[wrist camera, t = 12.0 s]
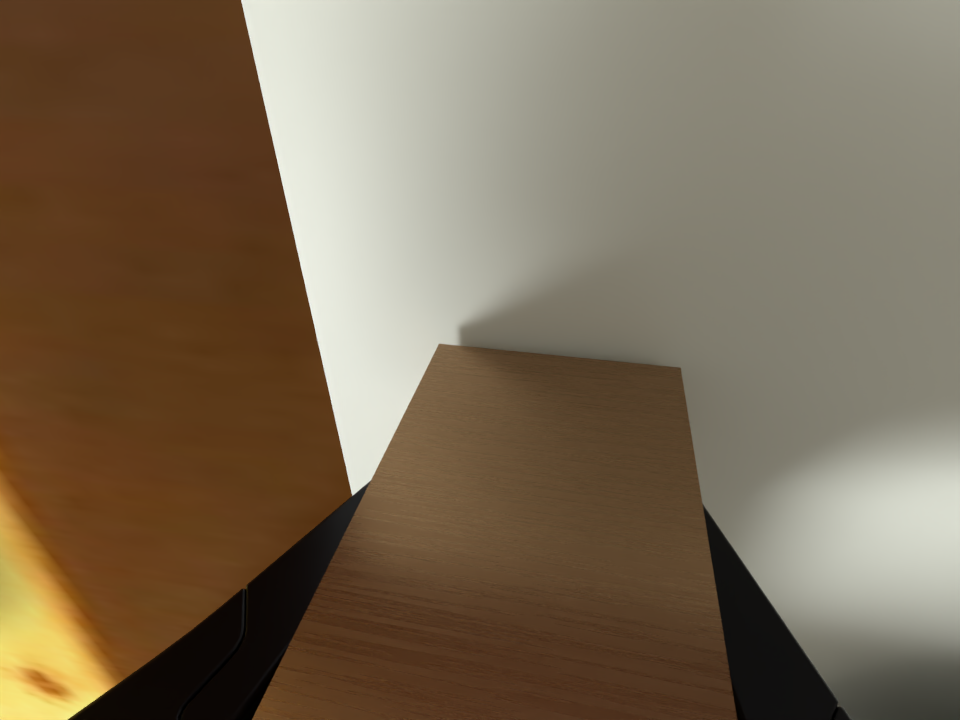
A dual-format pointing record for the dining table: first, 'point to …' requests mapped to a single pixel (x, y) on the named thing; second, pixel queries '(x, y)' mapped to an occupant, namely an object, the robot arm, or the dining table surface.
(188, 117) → the dining table surface
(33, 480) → the dining table surface
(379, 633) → the wooden mallet
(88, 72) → the dining table surface
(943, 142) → the white board
